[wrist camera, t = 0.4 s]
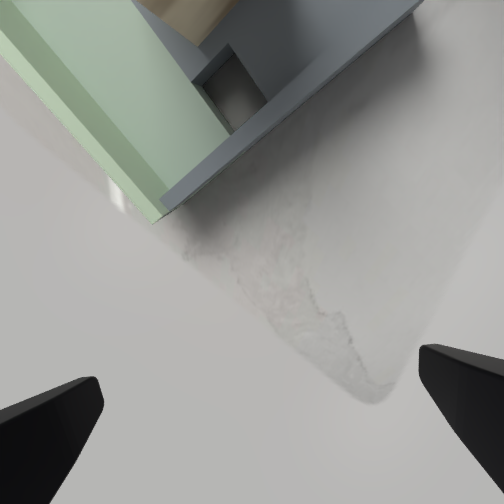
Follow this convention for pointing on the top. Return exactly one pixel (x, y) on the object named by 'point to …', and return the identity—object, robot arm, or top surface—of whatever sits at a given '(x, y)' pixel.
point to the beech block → (190, 15)
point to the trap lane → (179, 79)
